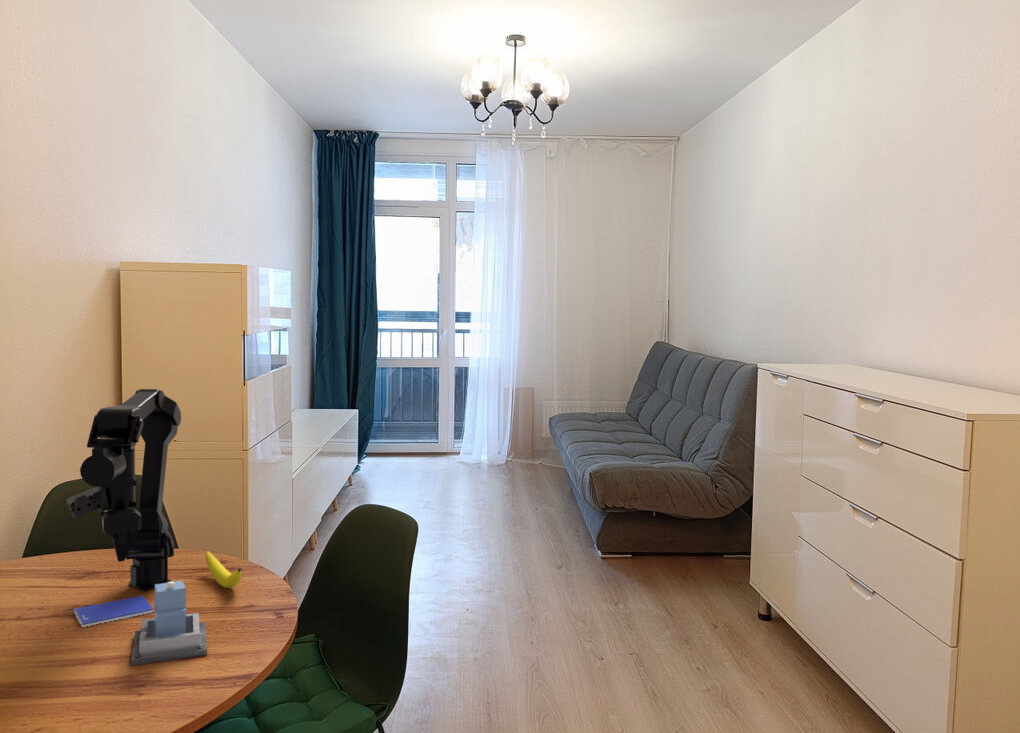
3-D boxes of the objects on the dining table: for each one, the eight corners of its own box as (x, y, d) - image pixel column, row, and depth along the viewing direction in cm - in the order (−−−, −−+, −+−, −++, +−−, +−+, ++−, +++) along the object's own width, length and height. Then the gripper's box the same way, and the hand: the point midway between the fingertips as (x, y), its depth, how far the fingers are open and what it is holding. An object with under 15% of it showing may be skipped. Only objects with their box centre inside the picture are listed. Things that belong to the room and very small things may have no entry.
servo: (154, 636, 138) (154, 577, 137) (181, 631, 141) (181, 573, 140) (158, 649, 133) (158, 588, 132) (186, 644, 136) (186, 584, 135)
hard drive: (82, 622, 143) (152, 607, 151) (73, 607, 149) (142, 594, 157) (82, 630, 143) (152, 615, 151) (74, 615, 149) (142, 601, 157)
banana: (213, 570, 175) (213, 543, 174) (247, 596, 160) (247, 567, 160) (200, 573, 173) (200, 546, 172) (233, 600, 158) (233, 570, 158)
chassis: (135, 636, 140) (135, 617, 140) (205, 627, 145) (205, 609, 145) (131, 665, 129) (131, 645, 129) (207, 654, 134) (207, 635, 134)
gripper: (68, 467, 149) (69, 545, 150) (70, 489, 133) (72, 576, 134) (131, 462, 154) (132, 538, 156) (141, 483, 138) (142, 566, 140)
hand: (119, 553), depth 146 cm, fingers open, 9 cm apart
